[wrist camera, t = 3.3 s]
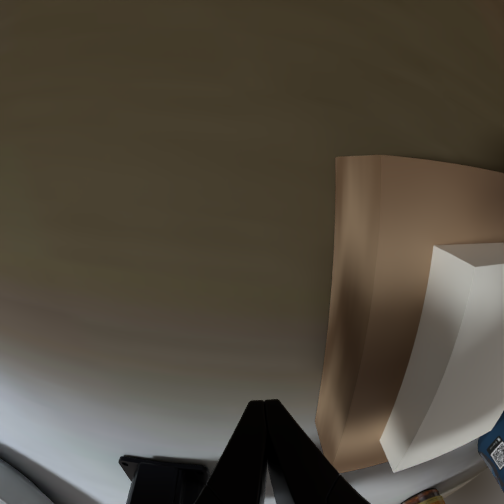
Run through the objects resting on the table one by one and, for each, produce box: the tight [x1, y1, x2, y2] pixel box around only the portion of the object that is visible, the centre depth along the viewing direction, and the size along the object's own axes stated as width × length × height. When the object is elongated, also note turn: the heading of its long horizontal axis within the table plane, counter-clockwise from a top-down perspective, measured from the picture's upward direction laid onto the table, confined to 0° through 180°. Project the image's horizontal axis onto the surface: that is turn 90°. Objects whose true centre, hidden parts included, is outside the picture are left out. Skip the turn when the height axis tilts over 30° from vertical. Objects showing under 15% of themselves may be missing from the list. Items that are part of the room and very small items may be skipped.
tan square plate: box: [315, 155, 504, 473], centre depth 11 cm, size 14×12×4 cm
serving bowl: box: [0, 459, 54, 504], centre depth 16 cm, size 21×21×7 cm
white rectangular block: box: [380, 243, 504, 473], centre depth 8 cm, size 9×6×2 cm, turn 2°
